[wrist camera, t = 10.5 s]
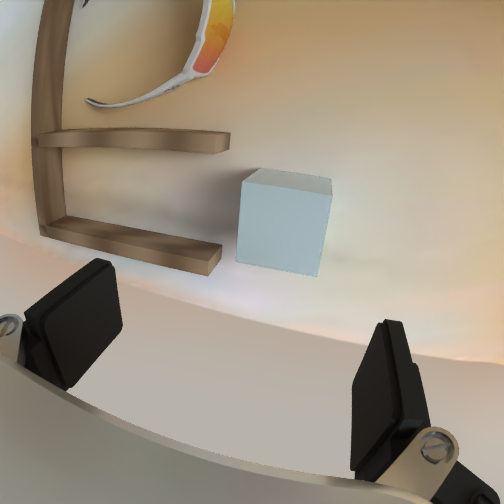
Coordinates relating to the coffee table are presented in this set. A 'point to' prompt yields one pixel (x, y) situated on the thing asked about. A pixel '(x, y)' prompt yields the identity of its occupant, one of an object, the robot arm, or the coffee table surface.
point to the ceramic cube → (283, 220)
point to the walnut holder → (53, 138)
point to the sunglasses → (195, 49)
